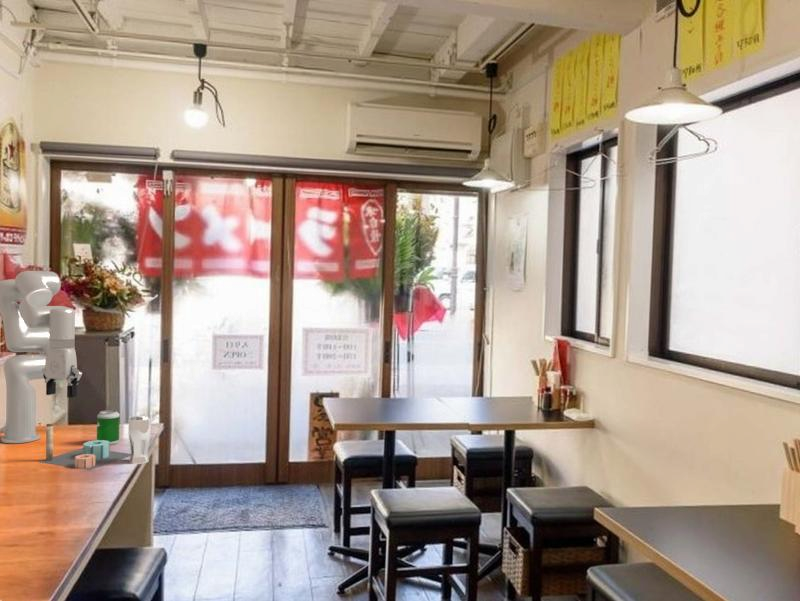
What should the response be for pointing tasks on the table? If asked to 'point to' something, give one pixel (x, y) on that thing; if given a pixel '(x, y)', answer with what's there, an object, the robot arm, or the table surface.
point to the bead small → (85, 461)
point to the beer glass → (139, 438)
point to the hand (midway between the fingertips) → (61, 395)
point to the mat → (69, 457)
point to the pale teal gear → (97, 448)
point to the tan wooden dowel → (49, 442)
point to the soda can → (108, 426)
